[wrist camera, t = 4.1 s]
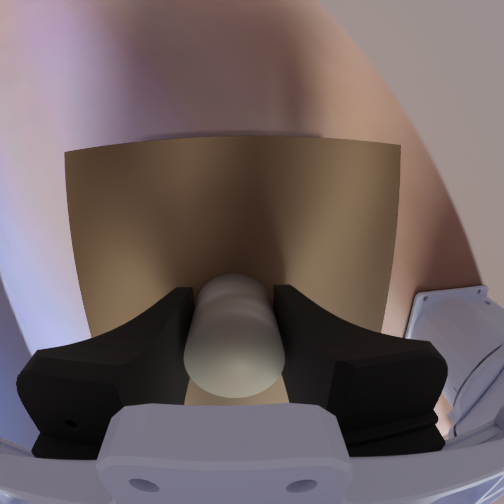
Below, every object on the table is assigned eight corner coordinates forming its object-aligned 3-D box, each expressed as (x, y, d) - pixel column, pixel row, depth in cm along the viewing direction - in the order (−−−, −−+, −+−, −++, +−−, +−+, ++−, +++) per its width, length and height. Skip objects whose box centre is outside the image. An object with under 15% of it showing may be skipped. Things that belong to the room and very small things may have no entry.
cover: (355, 147, 15) (455, 144, 7) (337, 358, 19) (383, 455, 11) (109, 152, 15) (9, 154, 7) (137, 362, 18) (99, 462, 10)
